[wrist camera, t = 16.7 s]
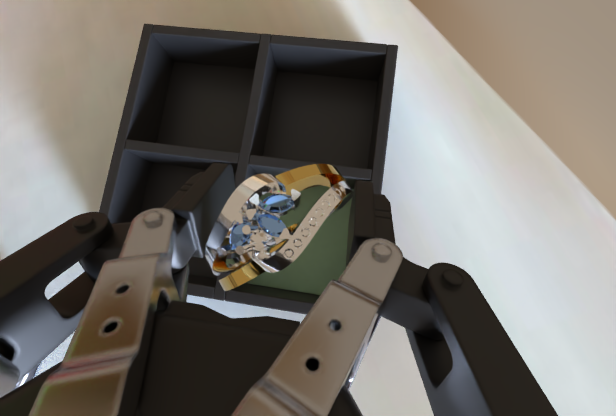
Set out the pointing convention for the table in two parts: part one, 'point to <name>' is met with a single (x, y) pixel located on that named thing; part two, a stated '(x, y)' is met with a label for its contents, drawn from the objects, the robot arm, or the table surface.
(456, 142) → the table surface
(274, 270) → the ring
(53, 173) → the table surface
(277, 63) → the organizer
